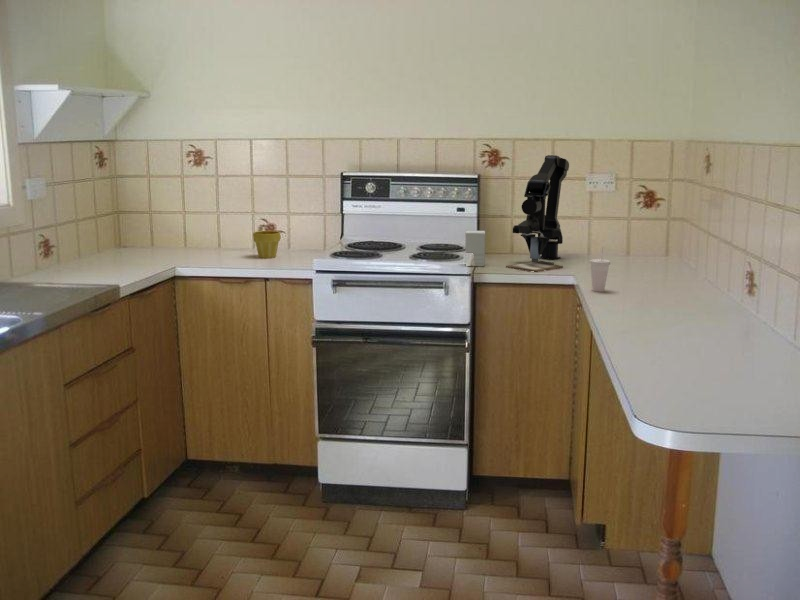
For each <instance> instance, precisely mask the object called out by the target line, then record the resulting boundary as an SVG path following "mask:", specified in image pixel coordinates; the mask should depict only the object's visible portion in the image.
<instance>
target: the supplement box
mask: <svg viewBox="0 0 800 600" xmlns="http://www.w3.org/2000/svg"><path fill="white" fill-rule="evenodd" d="M464 253H473V254H474V262H475V266H474V267H485V263H486V230H466V231H465V251H464Z"/></svg>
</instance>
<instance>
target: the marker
mask: <svg viewBox="0 0 800 600" xmlns="http://www.w3.org/2000/svg"><path fill="white" fill-rule="evenodd" d="M537 237H538V236H535V237H531V245H530V252H529V258H530V259H531V262H534V263H537V262H538V261H539V259H541V258H540V256H541V255H539V254H538V245H539V241H538V239H537Z"/></svg>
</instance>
